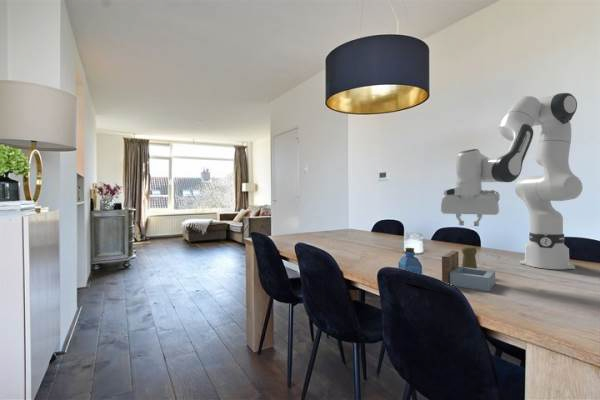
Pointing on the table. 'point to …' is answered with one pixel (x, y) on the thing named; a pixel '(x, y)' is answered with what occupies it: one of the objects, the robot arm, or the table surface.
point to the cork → (469, 257)
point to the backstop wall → (449, 265)
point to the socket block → (473, 278)
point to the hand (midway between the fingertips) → (468, 225)
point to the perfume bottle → (410, 262)
